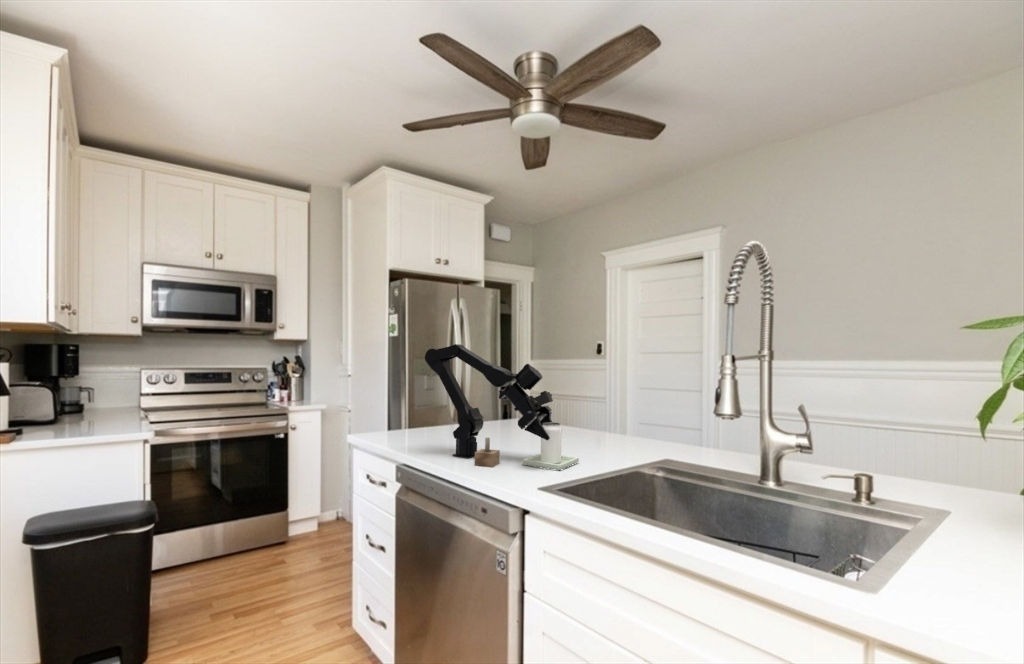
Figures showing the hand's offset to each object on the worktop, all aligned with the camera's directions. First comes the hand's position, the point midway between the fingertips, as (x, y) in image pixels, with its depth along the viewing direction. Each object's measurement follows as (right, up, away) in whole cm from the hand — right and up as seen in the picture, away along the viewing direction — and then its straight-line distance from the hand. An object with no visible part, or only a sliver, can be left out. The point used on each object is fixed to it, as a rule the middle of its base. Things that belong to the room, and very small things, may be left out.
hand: (552, 437), depth 153 cm
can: (-1, -8, 0) cm, 8 cm away
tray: (-1, -8, 0) cm, 9 cm away
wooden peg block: (-21, -8, -2) cm, 22 cm away
